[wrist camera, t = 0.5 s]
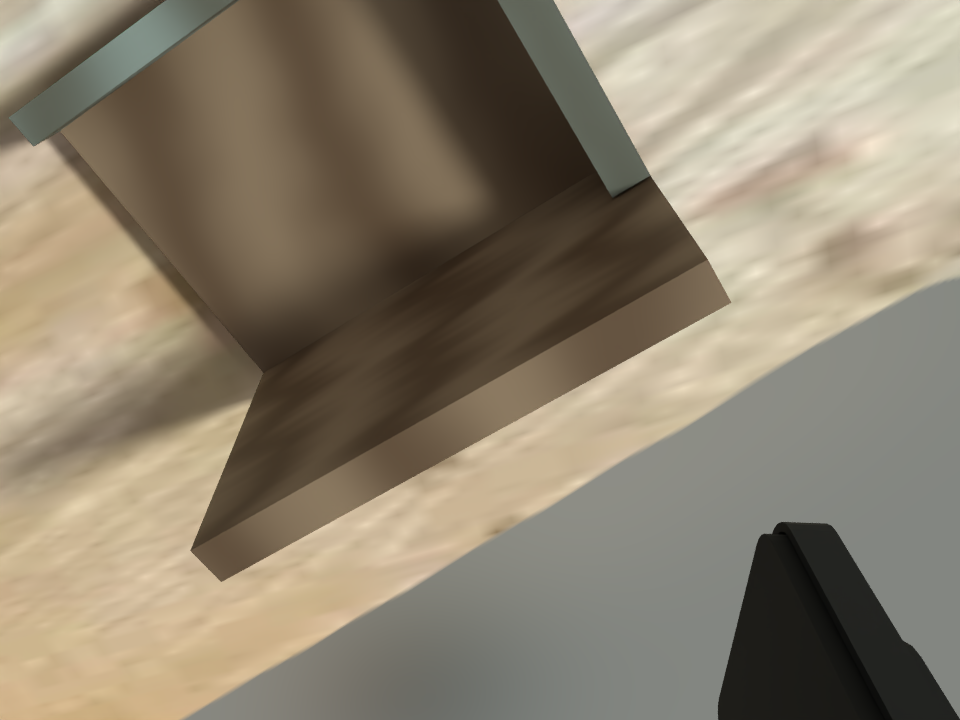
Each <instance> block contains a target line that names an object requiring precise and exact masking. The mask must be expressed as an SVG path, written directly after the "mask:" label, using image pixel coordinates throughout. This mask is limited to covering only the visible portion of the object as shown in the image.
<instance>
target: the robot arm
mask: <svg viewBox="0 0 960 720" xmlns="http://www.w3.org/2000/svg"><path fill="white" fill-rule="evenodd" d="M718 720H960V719H959V717H958V716H957V714H956V713H955V711H954V709H953V708H952V706H951V704H950V703H949V701H948V700H947V698H946V696H945V695H944V693H943V692H942V690H941V688H940V687H939V685H938V684H937V682H936V680H935V679H934V677H933V675H932V674H931V672H930V671H929V669H928V668H927V666H926V665H925V663H924V661H923V659H922V658H921V656H920V655H919V654H918V653H917V651H916V650H915V649H914V648H913V646H911V645H909V644H908V643H906V642H904V641H903V640H902V639H901V637H900V635H899V634H898V632H897V630H896V629H895V627H894V626H893V624H892V622H891V621H890V619H889V618H888V616H887V614H886V612H885V611H884V609H883V607H882V606H881V604H880V603H879V601H878V599H877V598H876V596H875V594H874V593H873V591H872V589H871V588H870V586H869V585H868V583H867V581H866V580H865V578H864V576H863V575H862V573H861V571H860V570H859V568H858V566H857V565H856V563H855V562H854V560H853V558H852V557H851V555H850V553H849V552H848V550H847V548H846V547H845V545H844V543H843V542H842V540H841V539H840V537H839V535H838V534H837V532H836V531H835V529H834V528H833V527H832V526H831V525H828V524H820V523H795V522H794V523H791V522H781V523H778V524H777V525H776V527H775V528H774V530H773V533H772V534H763V535H761V536H760V538H759V540H758V543H757V546H756V550H755V554H754V558H753V562H752V566H751V570H750V574H749V578H748V583H747V587H746V591H745V595H744V599H743V603H742V608H741V611H740V615H739V619H738V623H737V628H736V632H735V636H734V640H733V644H732V648H731V652H730V656H729V660H728V664H727V668H726V672H725V676H724V681H723V684H722V688H721V693H720V697H719V702H718Z"/></svg>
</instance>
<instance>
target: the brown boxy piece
mask: <svg viewBox="0 0 960 720" xmlns="http://www.w3.org/2000/svg"><path fill="white" fill-rule="evenodd" d="M9 119H10V120H11V121H12V122H13V123H14V125H15V126H16V127H17V128H18V129H19V130H20V132H21V133H22V134H23V135H24V136H25V137H26V138H27V140H28V141H29V142H30V143H31V144H32V145H33V146H35V145H37V144H39V143H40V142H42V141H44V140H45V139H47V138H49V137H51V136H52V135H54V134H56V133H57V132H59V131H60V132H61V133H62V134H63V135H64V136H65V138H66V139H67V140H68V141H69V142H70V144H71V145H72V146H73V147H74V148H75V150H76V151H77V152H78V153H79V154H80V155H81V157H82V158H83V159H84V160H85V161H86V163H87V164H88V165H89V166H90V167H91V169H92V170H93V171H94V172H95V173H96V174H97V176H98V177H99V178H100V179H101V180H102V182H103V183H104V184H105V185H106V186H107V187H108V189H109V190H110V191H111V192H112V193H113V195H114V196H115V197H116V198H117V199H118V201H119V202H120V203H121V204H122V205H123V206H124V208H125V209H126V210H127V211H128V212H129V214H130V215H131V216H132V217H133V218H134V220H135V221H136V222H137V223H138V224H139V225H140V227H141V228H142V229H143V230H144V231H145V233H146V234H147V235H148V236H149V237H150V238H151V240H152V241H153V242H154V243H155V244H156V246H157V247H158V248H159V249H160V250H161V252H162V253H163V254H164V255H165V256H166V257H167V259H168V260H169V261H170V262H171V263H172V265H173V266H174V267H175V268H176V269H177V271H178V272H179V273H180V274H181V275H182V276H183V278H184V279H185V280H186V281H187V282H188V284H189V285H190V286H191V287H192V288H193V289H194V291H195V292H196V293H197V294H198V295H199V297H200V298H201V299H202V300H203V301H204V303H205V304H206V305H207V306H208V307H209V308H210V310H211V311H212V312H213V313H214V314H215V316H216V317H217V318H218V319H219V320H220V322H221V323H222V324H223V325H224V326H225V327H226V329H227V330H228V331H229V332H230V333H231V335H232V336H233V337H234V338H235V339H236V341H237V342H238V343H239V344H240V345H241V346H242V348H243V349H244V350H245V351H246V352H247V354H248V355H249V356H250V357H251V358H252V359H253V361H254V362H255V363H256V364H257V365H258V367H259V368H260V369H261V370H262V371H263V375H262V378H261V380H260V383H259V385H258V388H257V390H256V393H255V395H254V397H253V400H252V402H251V405H250V407H249V410H248V412H247V414H246V417H245V419H244V422H243V424H242V427H241V429H240V431H239V434H238V436H237V439H236V441H235V444H234V446H233V448H232V451H231V453H230V456H229V458H228V461H227V463H226V465H225V468H224V470H223V473H222V475H221V478H220V480H219V483H218V485H217V487H216V490H215V492H214V495H213V497H212V500H211V502H210V504H209V507H208V509H207V512H206V514H205V517H204V519H203V521H202V524H201V526H200V529H199V531H198V534H197V536H196V538H195V541H194V543H193V546H192V548H191V552H192V553H193V554H194V555H195V556H196V557H197V558H198V559H199V560H200V561H201V562H202V563H203V564H204V565H205V566H206V567H207V568H208V569H209V570H210V571H211V572H212V573H213V574H214V575H215V576H216V577H217V578H218V579H219V580H220V581H221V582H222V581H224V580H226V579H228V578H229V577H231V576H233V575H235V574H237V573H239V572H240V571H242V570H244V569H246V568H248V567H249V566H251V565H253V564H255V563H257V562H259V561H260V560H262V559H264V558H266V557H268V556H270V555H271V554H273V553H275V552H277V551H279V550H281V549H282V548H284V547H286V546H288V545H290V544H291V543H293V542H295V541H297V540H299V539H301V538H302V537H304V536H306V535H308V534H310V533H312V532H313V531H315V530H317V529H319V528H321V527H323V526H324V525H326V524H328V523H330V522H332V521H333V520H335V519H337V518H339V517H341V516H343V515H344V514H346V513H348V512H350V511H352V510H354V509H355V508H357V507H359V506H361V505H363V504H365V503H366V502H368V501H370V500H372V499H374V498H375V497H377V496H379V495H381V494H383V493H385V492H386V491H388V490H390V489H392V488H394V487H396V486H397V485H399V484H401V483H403V482H405V481H407V480H408V479H410V478H412V477H414V476H416V475H417V474H419V473H421V472H423V471H425V470H427V469H428V468H430V467H432V466H434V465H436V464H438V463H439V462H441V461H443V460H445V459H447V458H449V457H450V456H452V455H454V454H456V453H458V452H459V451H461V450H463V449H465V448H467V447H469V446H470V445H472V444H474V443H476V442H478V441H480V440H481V439H483V438H485V437H487V436H489V435H491V434H492V433H494V432H496V431H498V430H500V429H501V428H503V427H505V426H507V425H509V424H511V423H512V422H514V421H516V420H518V419H520V418H522V417H523V416H525V415H527V414H529V413H531V412H533V411H534V410H536V409H538V408H540V407H542V406H543V405H545V404H547V403H549V402H551V401H553V400H554V399H556V398H558V397H560V396H562V395H564V394H565V393H567V392H569V391H571V390H573V389H575V388H576V387H578V386H580V385H582V384H584V383H585V382H587V381H589V380H591V379H593V378H595V377H596V376H598V375H600V374H602V373H604V372H606V371H607V370H609V369H611V368H613V367H615V366H617V365H618V364H620V363H622V362H624V361H626V360H628V359H629V358H631V357H633V356H635V355H637V354H638V353H640V352H642V351H644V350H646V349H648V348H649V347H651V346H653V345H655V344H657V343H659V342H660V341H662V340H664V339H666V338H668V337H670V336H671V335H673V334H675V333H677V332H679V331H680V330H682V329H684V328H686V327H688V326H690V325H691V324H693V323H695V322H697V321H699V320H701V319H702V318H704V317H706V316H708V315H710V314H712V313H713V312H715V311H717V310H719V309H721V308H722V307H724V306H726V305H728V304H730V303H731V301H730V299H729V297H728V296H727V294H726V292H725V290H724V288H723V287H722V285H721V283H720V281H719V279H718V277H717V276H716V274H715V272H714V270H713V268H712V266H711V265H710V263H709V261H708V259H707V258H706V256H705V255H704V253H703V252H702V250H701V249H700V248H699V246H698V245H697V243H696V242H695V240H694V239H693V237H692V236H691V234H690V233H689V231H688V230H687V229H686V227H685V226H684V224H683V223H682V221H681V220H680V218H679V217H678V215H677V214H676V212H675V211H674V210H673V208H672V207H671V205H670V204H669V202H668V201H667V199H666V198H665V196H664V195H663V194H662V192H661V191H660V189H659V188H658V186H657V185H656V183H655V182H654V180H653V179H652V177H651V176H650V174H649V172H648V170H647V168H646V167H645V165H644V163H643V161H642V159H641V158H640V156H639V154H638V152H637V150H636V149H635V147H634V145H633V143H632V141H631V139H630V138H629V136H628V134H627V132H626V130H625V129H624V127H623V125H622V123H621V121H620V120H619V118H618V116H617V114H616V112H615V111H614V109H613V107H612V105H611V103H610V102H609V100H608V98H607V96H606V94H605V93H604V91H603V89H602V87H601V85H600V84H599V82H598V80H597V78H596V76H595V75H594V73H593V71H592V69H591V67H590V66H589V64H588V62H587V60H586V58H585V57H584V55H583V53H582V51H581V49H580V48H579V46H578V44H577V42H576V40H575V39H574V37H573V35H572V33H571V31H570V30H569V28H568V26H567V24H566V22H565V20H564V19H563V17H562V15H561V13H560V11H559V10H558V8H557V6H556V4H555V2H554V1H553V0H166V1H164V2H163V3H162V4H160V5H159V6H157V7H156V8H155V9H153V10H152V11H151V12H149V13H148V14H147V15H145V16H144V17H143V18H141V19H140V20H139V21H137V22H136V23H135V24H133V25H132V26H131V27H129V28H128V29H127V30H125V31H124V32H123V33H121V34H120V35H119V36H117V37H116V38H115V39H113V40H112V41H111V42H109V43H108V44H107V45H105V46H104V47H103V48H101V49H100V50H99V51H97V52H96V53H95V54H93V55H92V56H90V57H89V58H88V59H86V60H85V61H84V62H82V63H81V64H80V65H78V66H77V67H76V68H74V69H73V70H72V71H70V72H69V73H68V74H66V75H65V76H64V77H62V78H61V79H60V80H58V81H57V82H56V83H54V84H53V85H52V86H50V87H49V88H48V89H46V90H45V91H44V92H42V93H41V94H40V95H38V96H37V97H36V98H34V99H33V100H32V101H30V102H29V103H28V104H26V105H25V106H23V107H22V108H21V109H19V110H18V111H17V112H15V113H14V114H13V115H11V116H10V117H9Z"/></svg>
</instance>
